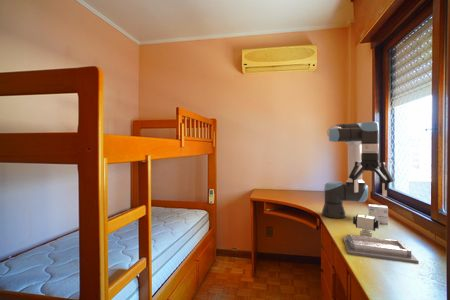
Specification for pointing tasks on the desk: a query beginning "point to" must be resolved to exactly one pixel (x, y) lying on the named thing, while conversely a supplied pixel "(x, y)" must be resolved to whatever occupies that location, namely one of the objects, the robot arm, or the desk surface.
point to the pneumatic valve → (366, 224)
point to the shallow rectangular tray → (378, 245)
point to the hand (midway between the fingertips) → (369, 194)
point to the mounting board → (379, 254)
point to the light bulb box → (379, 213)
